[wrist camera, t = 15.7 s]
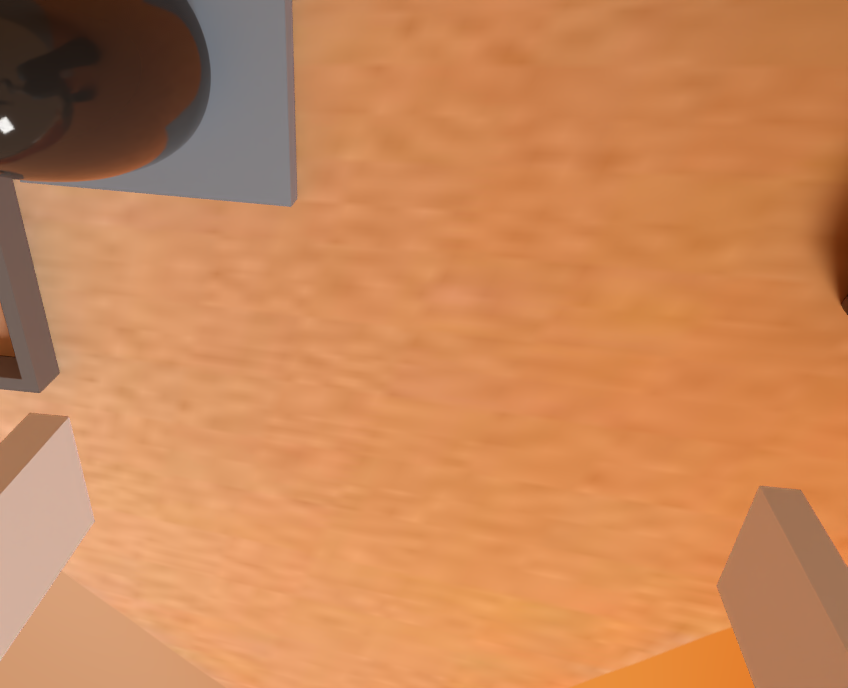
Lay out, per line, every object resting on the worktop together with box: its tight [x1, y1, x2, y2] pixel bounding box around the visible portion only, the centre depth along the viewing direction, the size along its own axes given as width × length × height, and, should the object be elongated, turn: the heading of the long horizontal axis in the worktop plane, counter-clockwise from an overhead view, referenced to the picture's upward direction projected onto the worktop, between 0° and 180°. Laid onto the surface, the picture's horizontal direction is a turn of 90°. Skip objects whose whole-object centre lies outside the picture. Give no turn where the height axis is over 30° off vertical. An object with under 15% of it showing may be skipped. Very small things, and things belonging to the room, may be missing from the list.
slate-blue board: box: [20, 0, 297, 207], centre depth 36 cm, size 16×16×2 cm
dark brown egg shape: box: [0, 0, 211, 182], centre depth 28 cm, size 10×10×15 cm
